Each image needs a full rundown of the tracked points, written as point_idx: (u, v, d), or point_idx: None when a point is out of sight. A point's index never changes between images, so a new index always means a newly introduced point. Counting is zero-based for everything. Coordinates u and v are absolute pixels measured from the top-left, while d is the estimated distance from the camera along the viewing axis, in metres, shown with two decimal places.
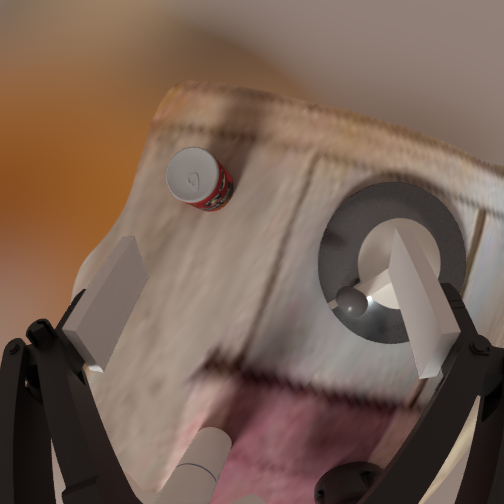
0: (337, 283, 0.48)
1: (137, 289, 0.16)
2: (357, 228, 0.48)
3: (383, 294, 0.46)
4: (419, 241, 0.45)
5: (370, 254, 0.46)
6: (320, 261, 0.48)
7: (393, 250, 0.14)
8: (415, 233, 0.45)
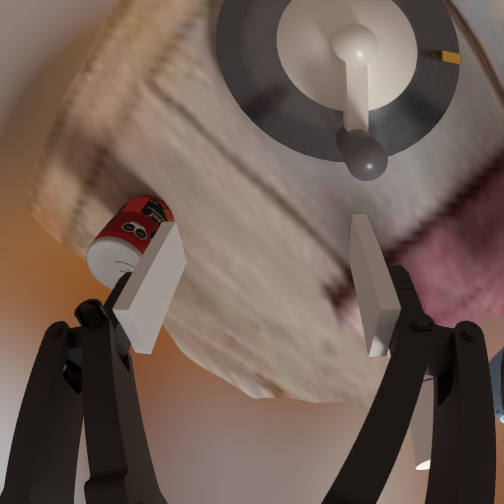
0: (328, 137, 0.32)
1: (178, 273, 0.17)
2: (268, 76, 0.28)
3: (377, 92, 0.27)
4: (332, 3, 0.22)
5: (313, 80, 0.27)
6: (288, 144, 0.33)
7: (351, 236, 0.16)
8: (317, 2, 0.22)
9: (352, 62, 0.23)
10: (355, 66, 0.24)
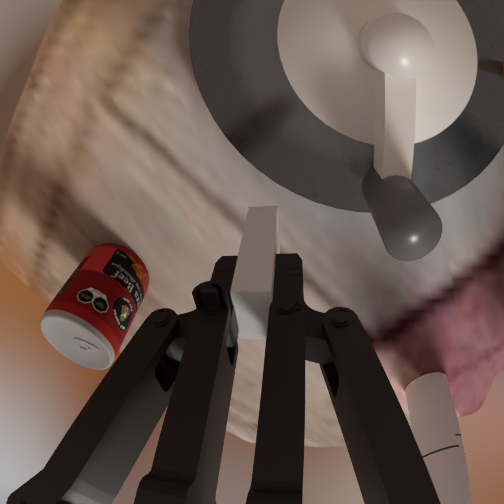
0: (349, 179, 0.23)
1: None
2: (265, 90, 0.20)
3: (423, 118, 0.18)
4: None
5: (332, 97, 0.18)
6: (293, 188, 0.24)
7: None
8: None
9: (396, 73, 0.14)
10: (399, 80, 0.15)
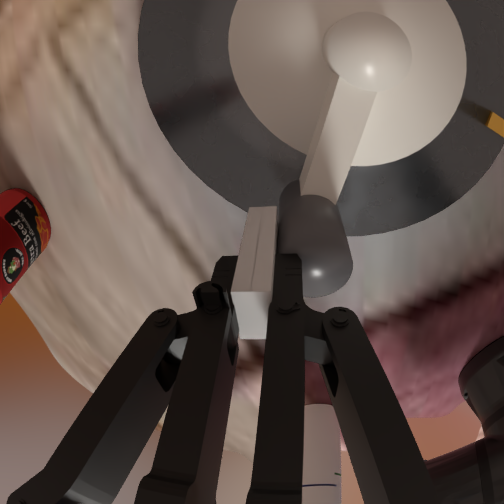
0: (269, 185, 0.21)
1: None
2: (204, 65, 0.17)
3: (373, 141, 0.17)
4: None
5: (273, 90, 0.16)
6: (205, 179, 0.21)
7: None
8: None
9: (351, 80, 0.12)
10: (354, 88, 0.13)
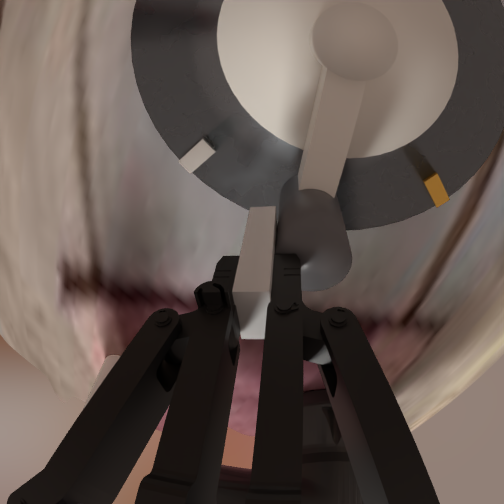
0: (188, 113, 0.19)
1: None
2: None
3: (369, 132, 0.17)
4: None
5: (265, 88, 0.16)
6: (138, 77, 0.17)
7: None
8: None
9: (339, 71, 0.12)
10: (343, 79, 0.13)
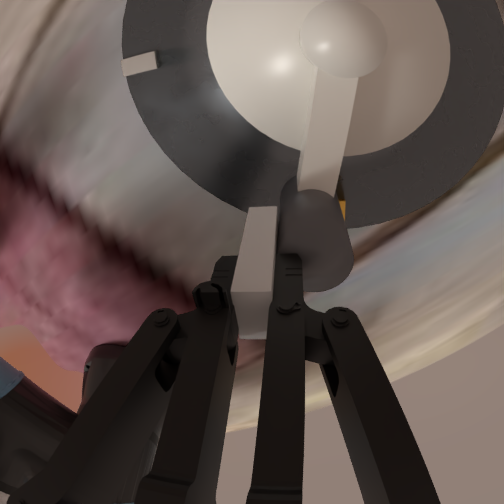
0: (158, 23, 0.15)
1: None
2: None
3: (365, 129, 0.17)
4: None
5: (258, 91, 0.16)
6: None
7: None
8: None
9: (329, 69, 0.12)
10: (334, 78, 0.13)
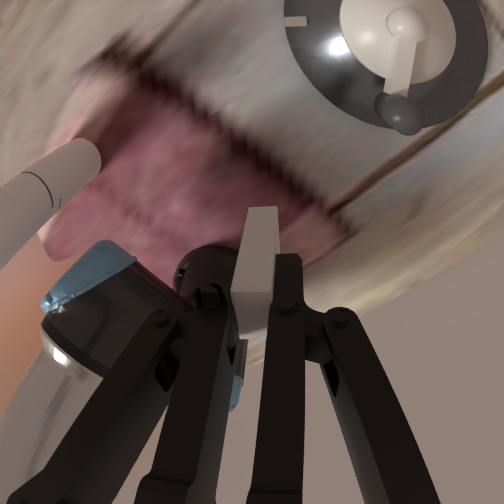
0: (308, 1, 0.26)
1: None
2: None
3: (416, 70, 0.28)
4: None
5: (365, 45, 0.27)
6: None
7: None
8: None
9: (405, 37, 0.23)
10: (406, 41, 0.24)
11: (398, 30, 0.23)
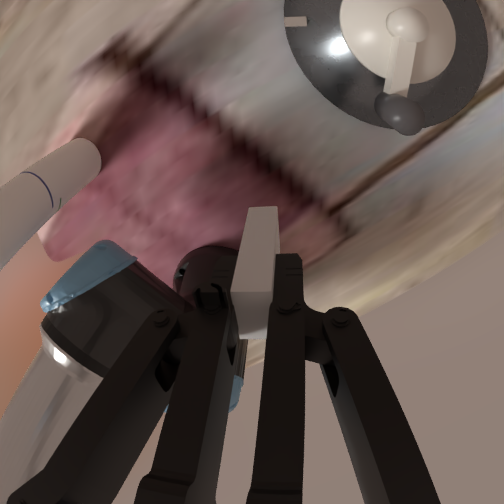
0: (308, 2, 0.26)
1: None
2: None
3: (416, 70, 0.28)
4: None
5: (365, 46, 0.27)
6: None
7: None
8: None
9: (405, 37, 0.23)
10: (406, 42, 0.24)
11: (398, 30, 0.23)
